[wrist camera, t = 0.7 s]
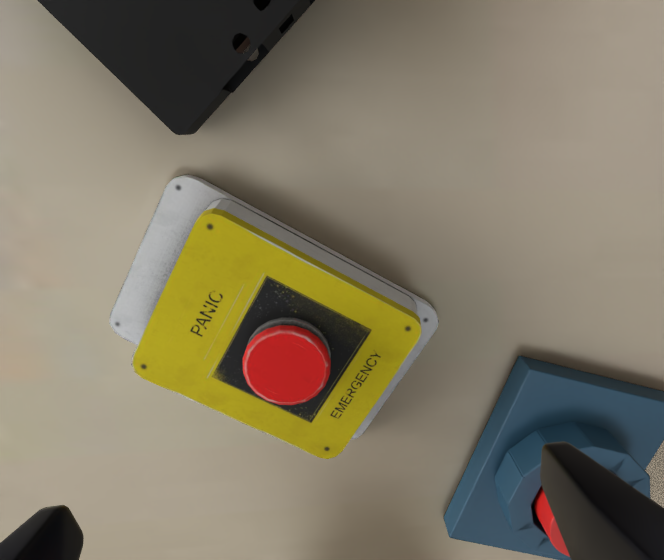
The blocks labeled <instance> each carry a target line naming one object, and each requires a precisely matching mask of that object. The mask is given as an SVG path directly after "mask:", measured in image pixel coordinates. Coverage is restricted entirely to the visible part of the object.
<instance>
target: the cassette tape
mask: <svg viewBox="0 0 664 560" xmlns="http://www.w3.org/2000/svg"><path fill="white" fill-rule="evenodd" d="M38 1H39V2H40V3H41V4H42V5H43V6H44V7H45V8H46V9H47V10H48V11H49V12H50V13H51V14H52V15H53V16H54V17H55V18H56V19H57V20H58V21H59V22H60V23H61V24H62V25H63V26H64V27H65V28H66V29H67V30H68V31H70V32H71V33H72V34H73V35H74V36H75V37H76V38H77V39H78V40H79V41H80V42H81V43H82V44H83V45H84V46H85V47H86V48H87V49H88V50H89V51H90V52H91V53H92V54H93V55H94V56H95V57H96V58H97V59H98V60H99V61H100V62H101V63H102V64H103V65H104V66H106V67H107V68H108V69H109V70H110V71H111V72H112V73H113V74H114V75H115V76H116V77H117V78H118V79H119V80H120V81H121V82H122V83H123V84H124V85H125V86H126V87H127V88H128V89H129V90H130V91H131V92H132V93H133V94H134V95H135V96H136V97H137V98H138V99H139V100H140V101H142V102H143V103H144V104H145V105H146V106H147V107H148V108H149V109H150V110H151V111H152V112H153V113H154V114H155V115H156V116H157V117H158V118H159V119H160V120H161V121H162V122H163V123H164V124H165V125H166V126H167V127H168V128H169V129H170V130H171V131H172V132H174V133H175V134H178V135H186V134H194V133H195V132H196V131H197V130H198V129H199V128H200V127H201V126H202V125H203V123H204V122H205V121H206V120H207V119H208V118H209V117H210V116H211V114H212V113H213V112H214V111H215V110H216V109H217V108H218V107H219V105H220V104H221V103H222V102H223V101H224V100H225V99H226V98H227V96H228V95H229V94H230V93H231V92H232V93H233V92H234V91H235V90H236V88H237V87H238V86H239V85H240V84H241V83H242V82H243V81H244V79H245V78H246V77H247V76H248V75H249V74H250V73H251V72H252V70H253V69H254V68H255V67H256V66H257V65H258V64H259V63H260V61H261V60H262V59H263V58H264V57H265V56H266V55H267V54H268V52H269V51H270V50H271V49H272V48H273V47H274V46H275V45H276V44H277V42H278V41H279V40H280V39H281V38H282V37H283V36H284V35H285V33H286V32H287V31H288V30H289V29H290V28H291V27H292V26H293V24H294V23H295V22H296V21H297V20H298V19H299V18H300V17H301V15H302V14H303V13H304V12H305V11H306V10H307V9H308V8H309V6H310V5H311V4H312V3H313V2H314V1H315V0H38ZM265 8H266V9H265ZM249 45H251V46H250V48H249V50H248V51H247V52H245V53H244V54H243V52H244V50H245V49H246V48H247V47H248V46H249ZM257 48H258V52H259V55H258V57H257V59H256V60H254V61H247V59H248V58H249V57H250V56H251V55H252V54H253V53H254V51H255V50H256V49H257Z"/></svg>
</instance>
